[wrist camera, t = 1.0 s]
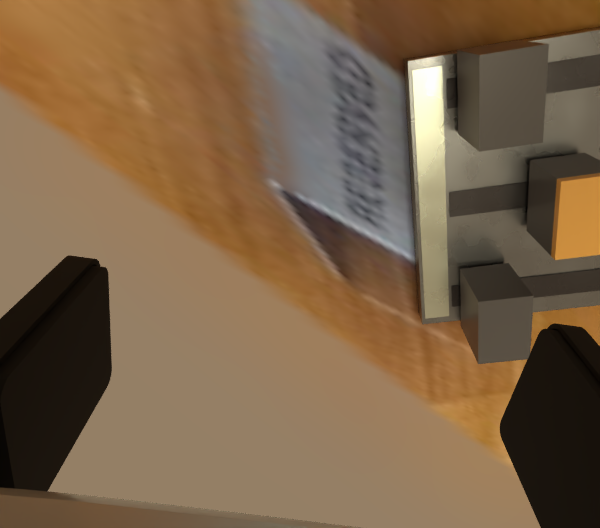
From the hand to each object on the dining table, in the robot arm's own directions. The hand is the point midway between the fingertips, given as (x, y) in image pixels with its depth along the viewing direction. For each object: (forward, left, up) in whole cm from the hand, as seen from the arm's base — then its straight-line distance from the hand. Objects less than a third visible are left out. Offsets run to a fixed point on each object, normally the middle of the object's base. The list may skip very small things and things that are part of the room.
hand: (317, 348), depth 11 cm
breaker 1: (-9, -1, -20) cm, 22 cm away
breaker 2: (-9, +11, -20) cm, 25 cm away
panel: (-13, +5, -22) cm, 26 cm away
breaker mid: (-13, +5, -20) cm, 24 cm away
